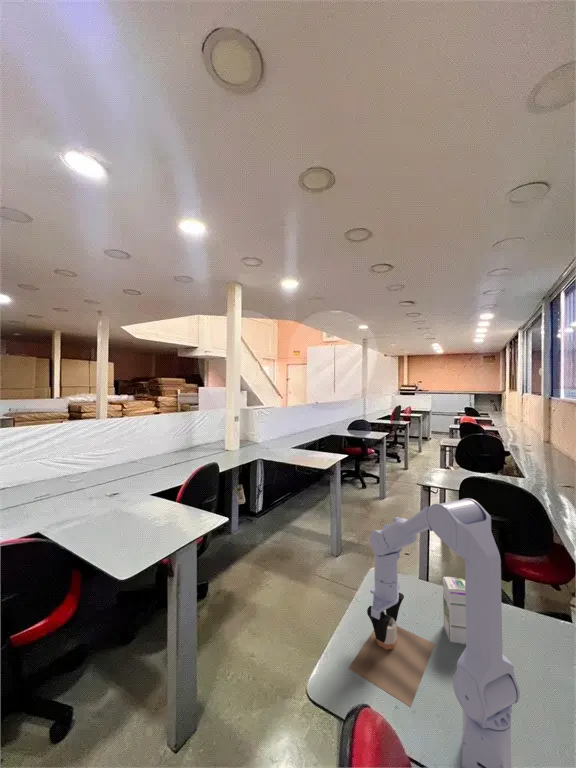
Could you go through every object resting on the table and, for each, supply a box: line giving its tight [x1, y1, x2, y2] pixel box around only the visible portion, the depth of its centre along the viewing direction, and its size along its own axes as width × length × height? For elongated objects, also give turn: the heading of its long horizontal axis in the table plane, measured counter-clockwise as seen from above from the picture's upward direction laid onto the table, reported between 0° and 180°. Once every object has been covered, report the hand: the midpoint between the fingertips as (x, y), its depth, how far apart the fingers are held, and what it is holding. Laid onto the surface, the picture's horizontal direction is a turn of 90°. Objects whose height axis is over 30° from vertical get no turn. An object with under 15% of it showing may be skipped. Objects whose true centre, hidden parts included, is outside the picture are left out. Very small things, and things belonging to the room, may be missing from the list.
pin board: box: [348, 625, 436, 708], centre depth 75 cm, size 20×14×5 cm
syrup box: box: [442, 576, 466, 645], centre depth 81 cm, size 6×6×14 cm
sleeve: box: [376, 613, 398, 649], centre depth 79 cm, size 5×5×5 cm
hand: (386, 630), depth 79 cm, fingers open, 7 cm apart
